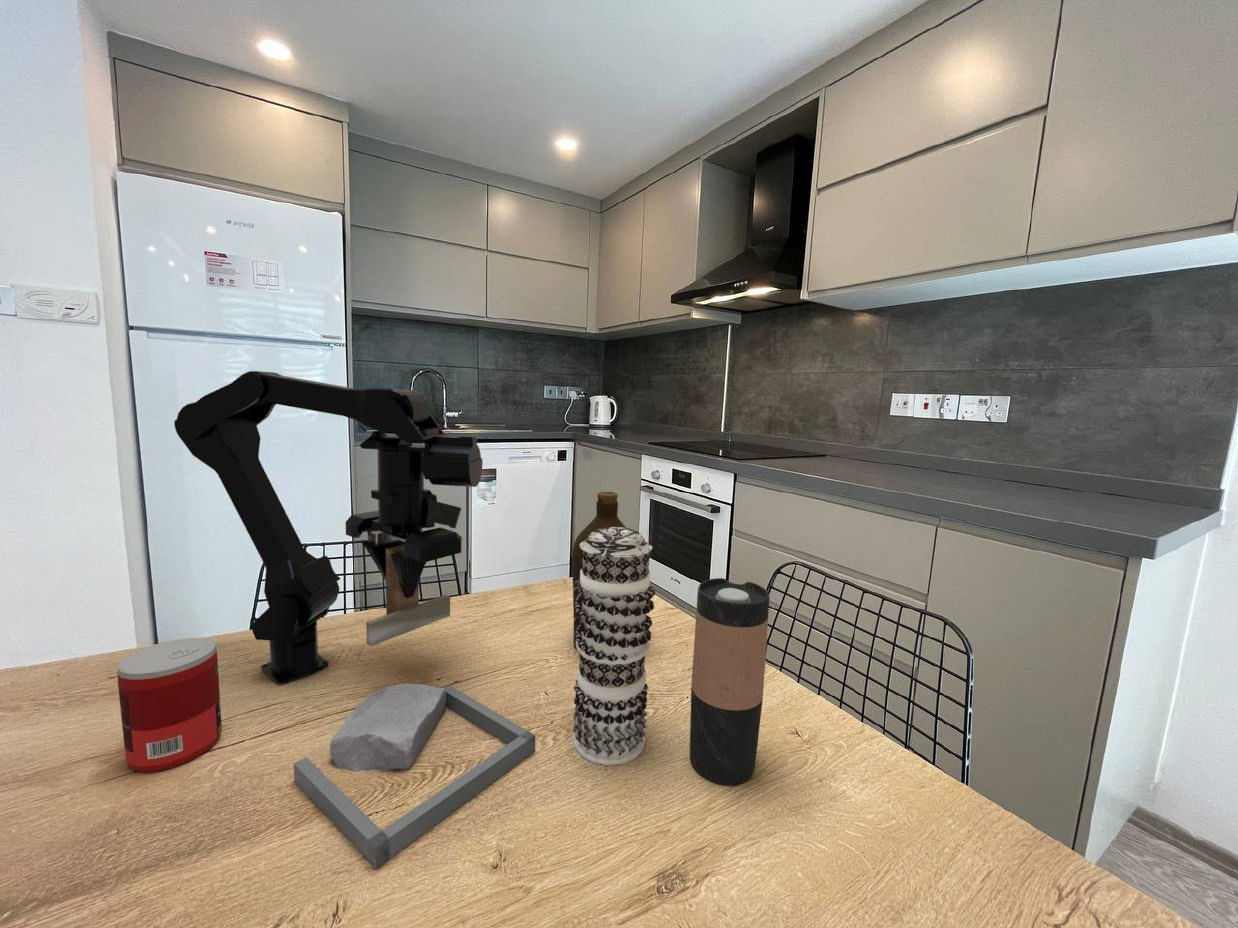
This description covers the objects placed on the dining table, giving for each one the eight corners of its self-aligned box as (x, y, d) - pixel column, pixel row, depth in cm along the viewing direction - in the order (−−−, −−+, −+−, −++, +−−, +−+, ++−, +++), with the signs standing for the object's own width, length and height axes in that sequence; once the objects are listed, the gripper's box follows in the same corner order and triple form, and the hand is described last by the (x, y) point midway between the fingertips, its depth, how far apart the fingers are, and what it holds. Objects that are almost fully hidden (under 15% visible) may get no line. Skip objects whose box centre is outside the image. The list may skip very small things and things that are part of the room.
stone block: (324, 787, 54) (417, 772, 53) (314, 744, 53) (407, 730, 53) (377, 720, 65) (454, 708, 65) (370, 685, 65) (446, 673, 65)
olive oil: (640, 659, 79) (648, 500, 75) (572, 662, 77) (576, 500, 74) (628, 628, 89) (634, 487, 86) (567, 630, 87) (571, 487, 84)
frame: (294, 781, 52) (293, 763, 51) (449, 699, 66) (449, 684, 66) (376, 868, 43) (375, 847, 42) (535, 751, 57) (535, 734, 57)
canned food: (238, 734, 58) (232, 644, 57) (156, 783, 51) (147, 680, 49) (193, 719, 61) (186, 631, 59) (108, 763, 53) (98, 664, 52)
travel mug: (715, 797, 52) (728, 609, 49) (673, 750, 58) (683, 582, 56) (772, 774, 55) (786, 597, 53) (726, 732, 62) (737, 573, 59)
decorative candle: (583, 776, 54) (590, 547, 51) (560, 724, 62) (565, 524, 59) (661, 757, 57) (672, 540, 54) (629, 709, 66) (637, 520, 63)
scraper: (354, 636, 67) (352, 556, 66) (433, 608, 77) (433, 537, 76) (371, 646, 65) (369, 563, 64) (450, 615, 75) (450, 543, 73)
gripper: (494, 485, 70) (492, 594, 72) (413, 469, 80) (414, 564, 82) (422, 496, 61) (423, 620, 63) (342, 476, 71) (344, 583, 73)
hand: (402, 593), depth 71 cm, fingers closed on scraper, 3 cm apart
